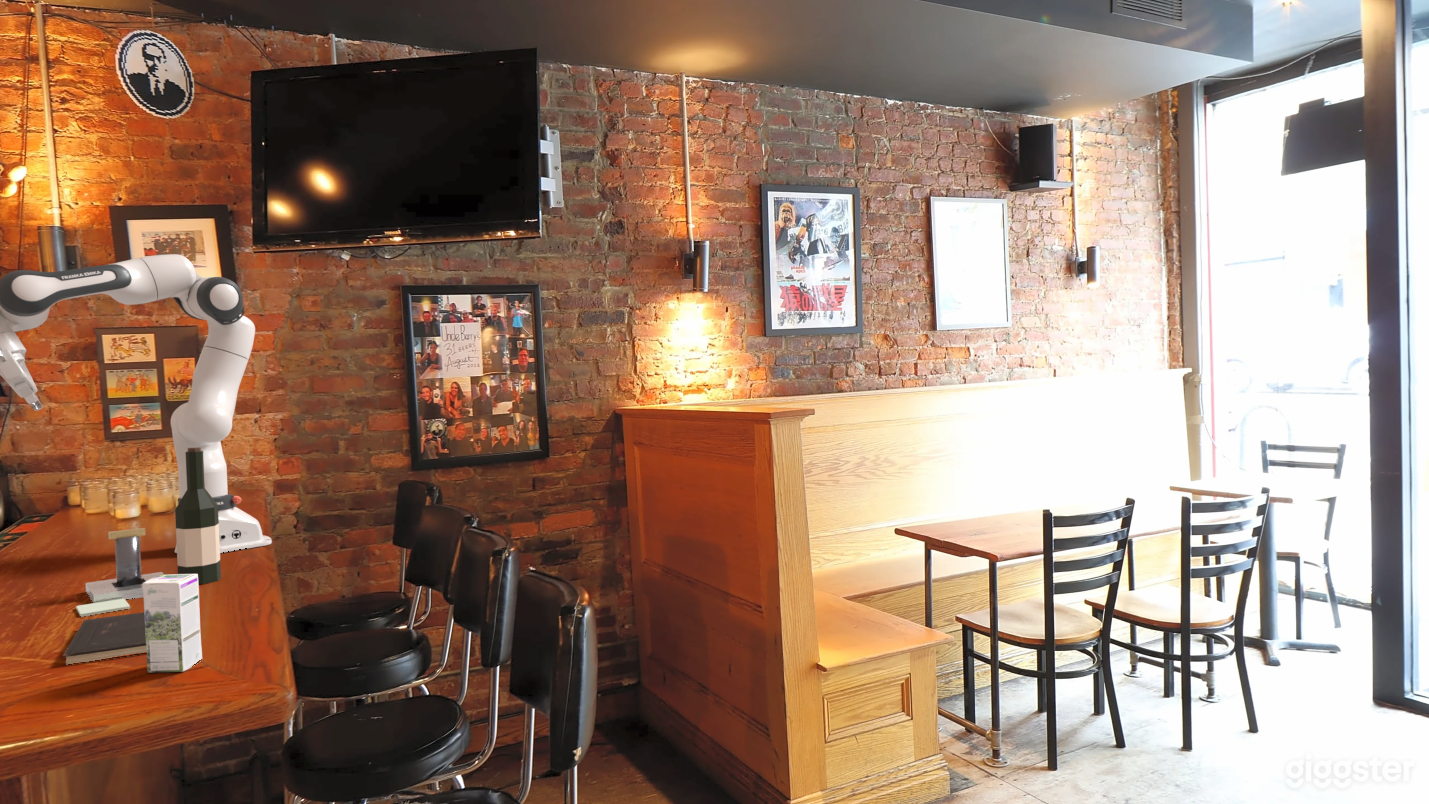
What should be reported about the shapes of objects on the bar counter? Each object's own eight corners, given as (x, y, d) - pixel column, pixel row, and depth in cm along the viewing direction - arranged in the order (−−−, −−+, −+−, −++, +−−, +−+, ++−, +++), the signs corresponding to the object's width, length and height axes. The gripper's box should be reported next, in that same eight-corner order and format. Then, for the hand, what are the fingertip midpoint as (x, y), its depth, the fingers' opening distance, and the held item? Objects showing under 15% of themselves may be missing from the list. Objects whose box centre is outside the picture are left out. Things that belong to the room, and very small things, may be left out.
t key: (145, 587, 190) (142, 526, 190) (149, 591, 187) (146, 529, 186) (110, 593, 186) (107, 530, 185) (113, 597, 183) (110, 533, 182)
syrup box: (203, 660, 142) (199, 571, 141) (182, 673, 136) (178, 581, 135) (168, 661, 141) (163, 572, 141) (145, 674, 136) (141, 582, 135)
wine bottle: (229, 576, 199) (224, 445, 198) (204, 585, 191) (198, 449, 190) (195, 576, 200) (189, 446, 199) (169, 585, 192) (163, 449, 190)
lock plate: (162, 580, 196) (161, 571, 196) (174, 592, 186) (173, 582, 186) (85, 592, 187) (85, 582, 187) (94, 605, 177) (93, 595, 177)
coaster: (124, 601, 179) (124, 598, 179) (130, 609, 173) (130, 606, 173) (76, 608, 174) (76, 605, 174) (80, 617, 168) (80, 614, 168)
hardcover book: (63, 669, 140) (62, 655, 140) (84, 632, 160) (84, 619, 160) (179, 652, 148) (179, 638, 148) (186, 618, 168) (185, 606, 168)
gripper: (8, 336, 188) (45, 391, 190) (22, 355, 205) (56, 406, 207) (-26, 348, 185) (13, 405, 187) (-8, 367, 202) (26, 419, 204)
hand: (36, 406), depth 197 cm, fingers open, 8 cm apart
